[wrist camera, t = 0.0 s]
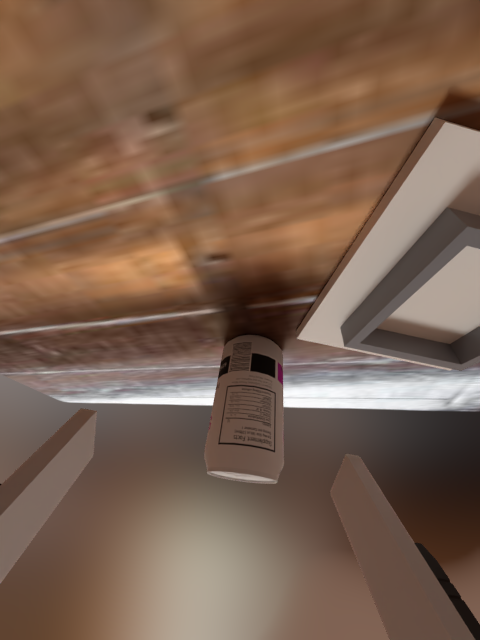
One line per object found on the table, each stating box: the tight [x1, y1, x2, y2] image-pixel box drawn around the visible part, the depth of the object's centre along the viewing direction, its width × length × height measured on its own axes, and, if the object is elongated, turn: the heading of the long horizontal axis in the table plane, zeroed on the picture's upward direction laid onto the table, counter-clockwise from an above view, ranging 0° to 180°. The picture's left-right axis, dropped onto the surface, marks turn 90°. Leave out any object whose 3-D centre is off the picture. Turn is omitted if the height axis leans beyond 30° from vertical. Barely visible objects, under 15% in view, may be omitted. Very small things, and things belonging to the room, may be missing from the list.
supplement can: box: [204, 335, 284, 484], centre depth 27 cm, size 8×8×15 cm
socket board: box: [296, 117, 480, 371], centre depth 20 cm, size 20×20×4 cm
